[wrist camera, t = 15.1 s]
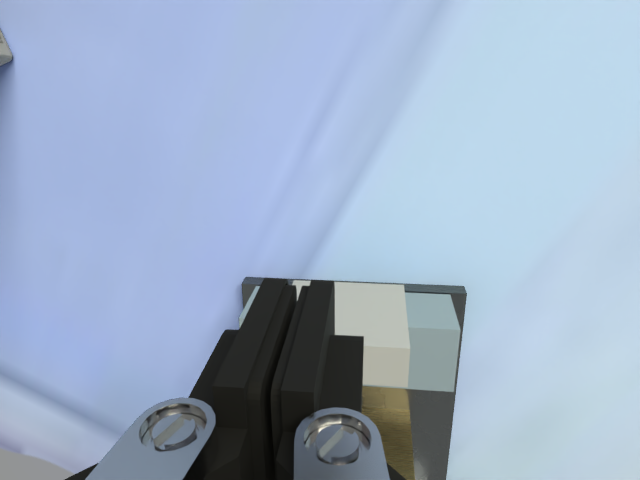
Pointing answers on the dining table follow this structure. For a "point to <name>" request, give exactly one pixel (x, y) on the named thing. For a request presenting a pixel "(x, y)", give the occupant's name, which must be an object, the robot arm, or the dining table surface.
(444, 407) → the panel
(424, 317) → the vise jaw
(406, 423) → the block
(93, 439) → the dining table surface
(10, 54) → the coffee box
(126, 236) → the dining table surface
